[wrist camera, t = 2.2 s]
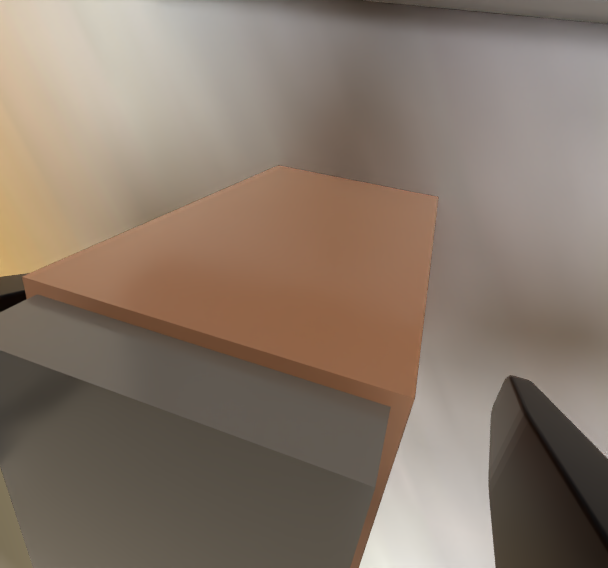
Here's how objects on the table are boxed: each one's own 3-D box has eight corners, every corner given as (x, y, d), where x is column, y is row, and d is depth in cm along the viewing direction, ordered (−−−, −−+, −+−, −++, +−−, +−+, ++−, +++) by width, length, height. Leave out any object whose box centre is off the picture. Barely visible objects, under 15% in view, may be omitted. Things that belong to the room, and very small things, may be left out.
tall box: (438, 196, 12) (404, 480, 3) (398, 337, 14) (317, 721, 6) (278, 165, 13) (-63, 313, 4) (265, 300, 15) (26, 572, 7)
